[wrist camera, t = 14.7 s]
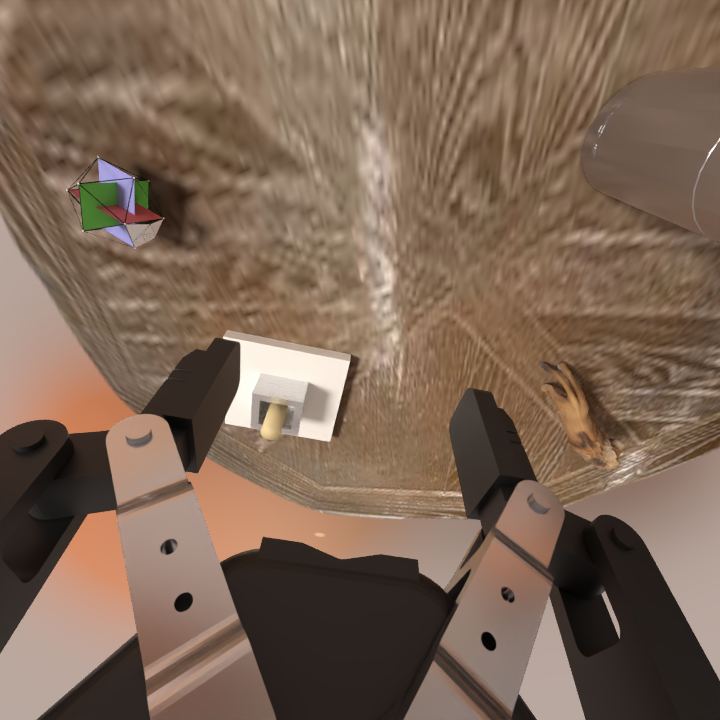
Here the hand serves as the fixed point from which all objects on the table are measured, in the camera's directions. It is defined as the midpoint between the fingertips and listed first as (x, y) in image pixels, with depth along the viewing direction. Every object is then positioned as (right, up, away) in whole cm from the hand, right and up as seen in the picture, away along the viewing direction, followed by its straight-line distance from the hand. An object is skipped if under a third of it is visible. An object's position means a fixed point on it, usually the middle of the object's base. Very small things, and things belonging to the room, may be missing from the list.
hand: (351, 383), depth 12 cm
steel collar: (-10, -4, +37) cm, 38 cm away
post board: (-10, -3, +38) cm, 39 cm away
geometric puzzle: (-22, +17, +23) cm, 37 cm away
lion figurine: (+29, -4, +37) cm, 47 cm away
